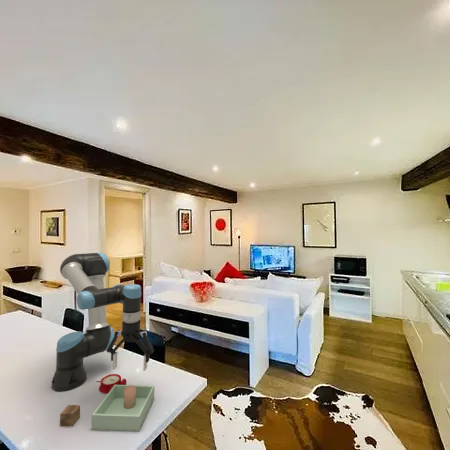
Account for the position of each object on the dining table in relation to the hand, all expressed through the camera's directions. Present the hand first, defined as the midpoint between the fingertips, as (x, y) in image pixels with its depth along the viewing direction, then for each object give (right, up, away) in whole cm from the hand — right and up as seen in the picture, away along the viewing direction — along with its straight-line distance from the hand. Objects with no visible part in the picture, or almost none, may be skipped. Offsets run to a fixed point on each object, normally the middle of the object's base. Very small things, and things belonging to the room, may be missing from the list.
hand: (130, 368), depth 114 cm
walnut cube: (-20, -16, -10) cm, 28 cm away
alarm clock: (-13, -17, +12) cm, 24 cm away
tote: (0, -16, -5) cm, 17 cm away
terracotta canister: (0, -15, -1) cm, 15 cm away
